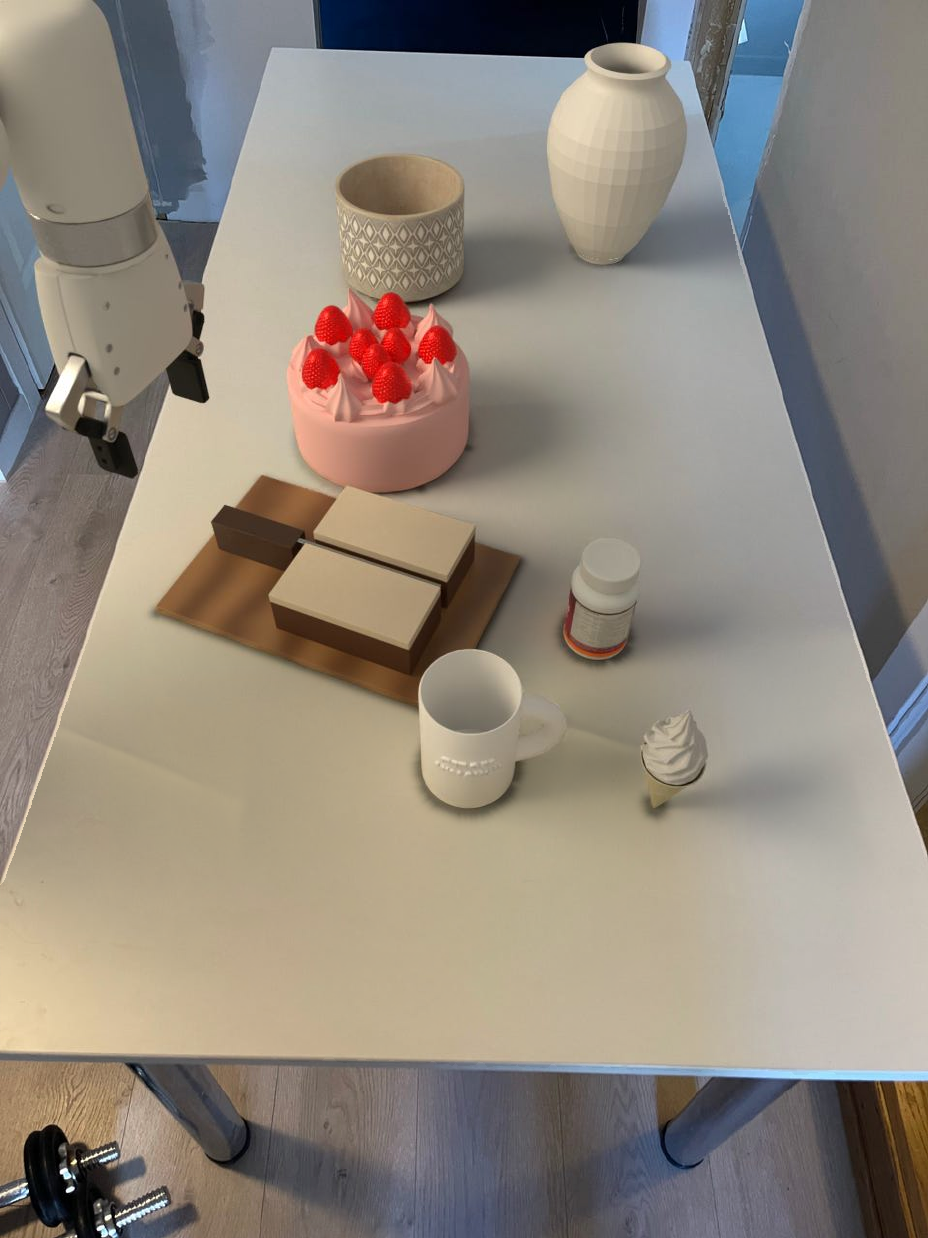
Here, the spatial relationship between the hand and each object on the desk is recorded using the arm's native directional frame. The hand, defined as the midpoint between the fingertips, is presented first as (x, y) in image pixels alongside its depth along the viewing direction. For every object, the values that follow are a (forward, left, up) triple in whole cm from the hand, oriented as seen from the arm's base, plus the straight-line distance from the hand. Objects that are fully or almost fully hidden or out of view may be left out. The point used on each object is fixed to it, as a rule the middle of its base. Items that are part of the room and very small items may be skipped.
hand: (156, 432), depth 71 cm
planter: (-8, +60, -22) cm, 65 cm away
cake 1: (+4, +29, -22) cm, 37 cm away
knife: (+9, +7, -21) cm, 24 cm away
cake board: (+10, +7, -22) cm, 25 cm away
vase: (+15, +77, -22) cm, 82 cm away
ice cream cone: (+45, -4, -22) cm, 51 cm away
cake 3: (+14, +3, -21) cm, 26 cm away
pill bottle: (+35, +11, -22) cm, 43 cm away
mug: (+31, -6, -22) cm, 39 cm away
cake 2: (+14, +12, -21) cm, 28 cm away
